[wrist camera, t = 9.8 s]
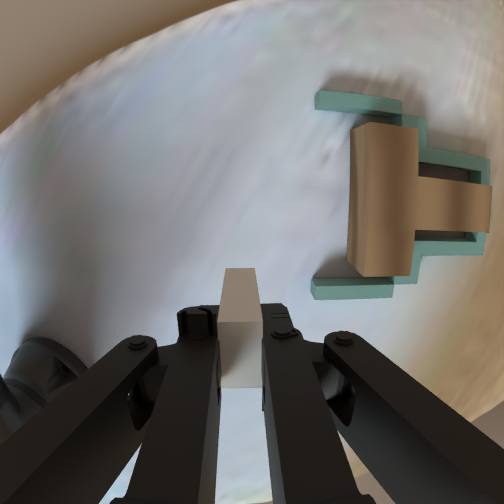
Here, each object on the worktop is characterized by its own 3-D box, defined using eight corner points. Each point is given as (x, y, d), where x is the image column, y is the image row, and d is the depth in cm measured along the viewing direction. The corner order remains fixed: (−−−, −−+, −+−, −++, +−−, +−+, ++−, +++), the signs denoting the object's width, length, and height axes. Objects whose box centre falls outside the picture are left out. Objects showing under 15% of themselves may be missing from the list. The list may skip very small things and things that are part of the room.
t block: (346, 260, 34) (363, 276, 29) (350, 130, 31) (369, 121, 25) (455, 259, 34) (482, 273, 29) (462, 146, 31) (492, 144, 25)
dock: (310, 291, 35) (314, 300, 33) (314, 96, 30) (319, 90, 28) (466, 285, 35) (476, 292, 33) (476, 123, 30) (488, 121, 28)
